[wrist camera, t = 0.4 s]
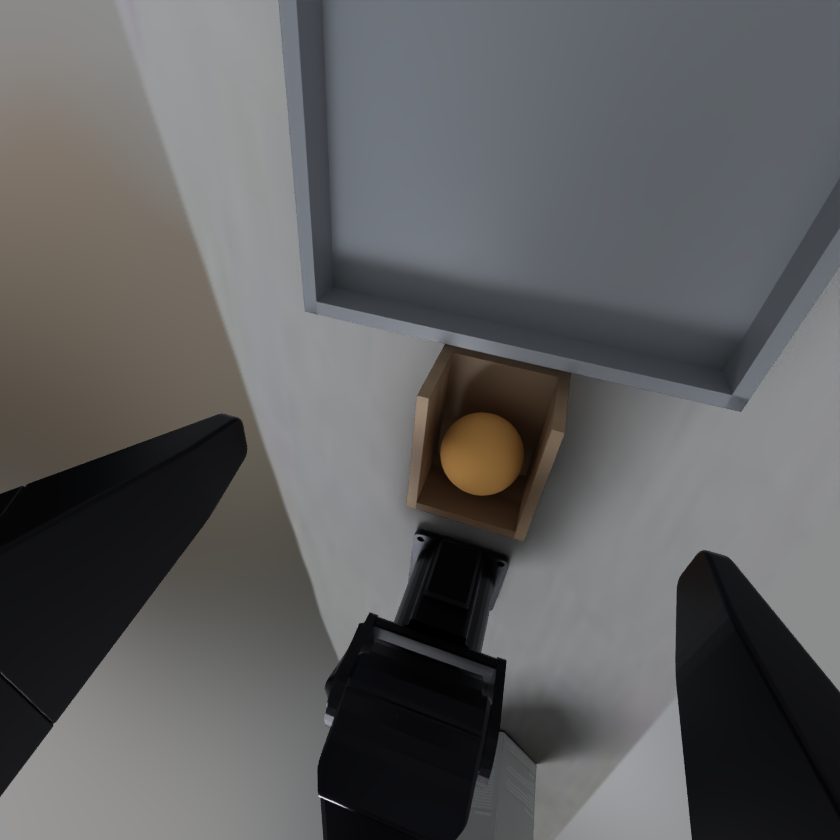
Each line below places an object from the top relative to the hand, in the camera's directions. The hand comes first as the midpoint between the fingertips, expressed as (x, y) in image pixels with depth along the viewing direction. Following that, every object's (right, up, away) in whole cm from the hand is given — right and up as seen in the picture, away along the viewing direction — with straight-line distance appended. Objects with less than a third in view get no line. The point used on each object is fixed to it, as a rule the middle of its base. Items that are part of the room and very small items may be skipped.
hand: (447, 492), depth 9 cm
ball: (+2, 0, +13) cm, 14 cm away
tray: (+4, +11, +7) cm, 14 cm away
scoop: (+3, +2, +15) cm, 15 cm away
